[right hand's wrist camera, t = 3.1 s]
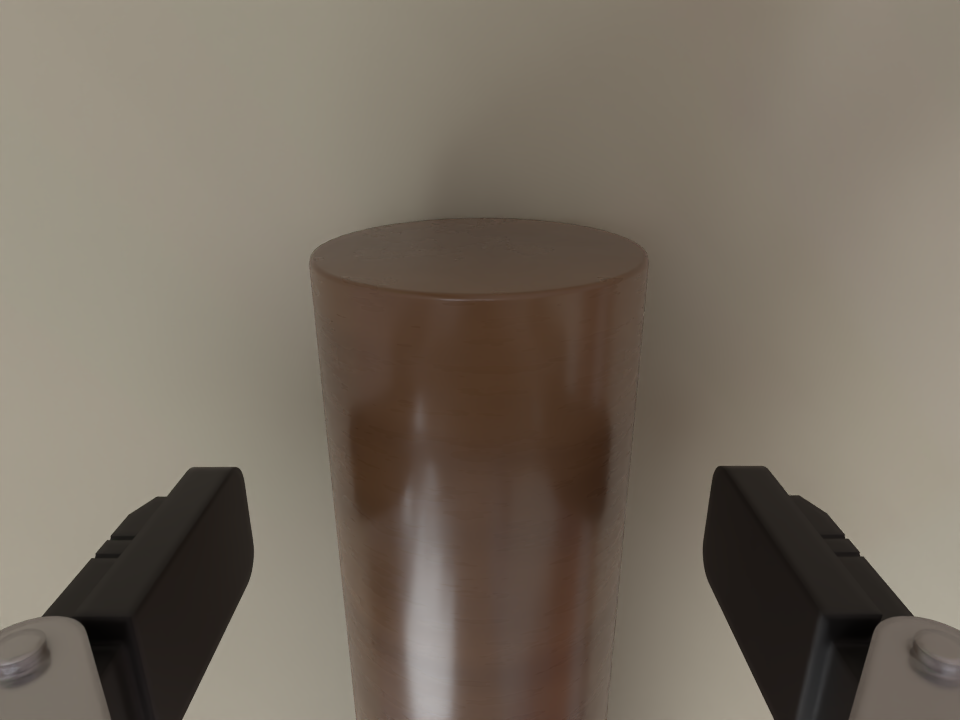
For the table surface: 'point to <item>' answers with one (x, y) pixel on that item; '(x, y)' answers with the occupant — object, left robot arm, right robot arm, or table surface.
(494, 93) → the table surface
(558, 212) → the table surface
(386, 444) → the rod
